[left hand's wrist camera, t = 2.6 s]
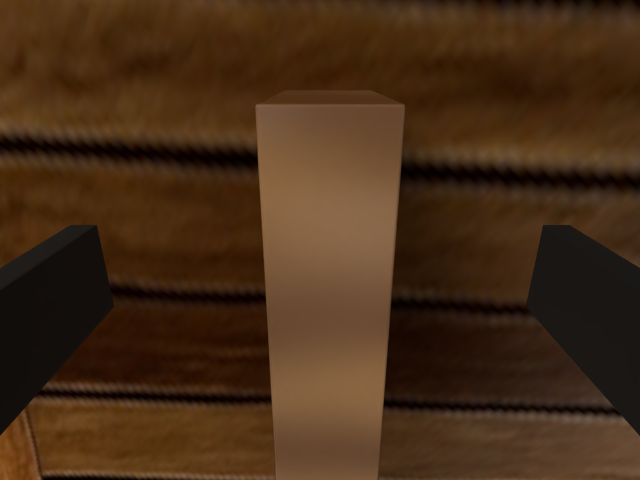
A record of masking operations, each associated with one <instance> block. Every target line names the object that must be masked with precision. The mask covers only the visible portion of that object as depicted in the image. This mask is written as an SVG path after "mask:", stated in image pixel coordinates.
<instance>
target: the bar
mask: <svg viewBox="0 0 640 480" xmlns="http://www.w3.org/2000/svg"><path fill="white" fill-rule="evenodd" d="M405 109H406V107H405V105H404V104H402V103H400V102H397V101H395V100H393V99H390V98H388V97H386V96H383V95H381V94H379V93H376V92H374V91H372V90H285V91H283V92H281V93H279V94H277V95H275V96H273V97H271V98H269V99H267V100H265V101H262V102H260V103H258V104H256V106H255V112H256V130H257V148H258V165H259V183H260V201H261V219H262V236H263V254H264V272H265V289H266V307H267V325H268V342H269V360H270V378H271V395H272V413H273V431H274V448H275V466H276V480H378V471H379V457H380V444H381V431H382V417H383V404H384V390H385V377H386V364H387V350H388V337H389V323H390V310H391V297H392V283H393V270H394V256H395V243H396V230H397V216H398V203H399V189H400V176H401V163H402V149H403V136H404V122H405Z"/></svg>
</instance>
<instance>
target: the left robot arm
mask: <svg viewBox="0 0 640 480" xmlns="http://www.w3.org/2000/svg"><path fill="white" fill-rule="evenodd" d="M113 307H114V304H113V299H112V295H111V290H110V285H109V281H108V276H107V271H106V267H105V262H104V257H103V253H102V248H101V243H100V239H99V234H98V229H97V225H70V226H68V227H67V228H65V229H64V230H62V231H60V232H59V233H57V234H55V235H54V236H52V237H50V238H49V239H47V240H46V241H44V242H42V243H41V244H39V245H37V246H36V247H34V248H32V249H31V250H29V251H27V252H26V253H24V254H23V255H21V256H19V257H18V258H16V259H14V260H13V261H11V262H9V263H8V264H6V265H5V266H3V267H1V268H0V435H1V434H2V433H3V432H4V431H5V430H6V429H7V427H8V426H9V425H10V424H11V423H12V422H13V421H14V420H15V418H16V417H17V416H18V415H19V414H20V413H21V412H22V410H23V409H24V408H25V407H26V406H27V405H28V404H29V403H30V401H31V400H32V399H33V398H34V397H35V396H36V395H37V393H38V392H39V391H40V390H41V389H42V388H43V387H44V386H45V384H46V383H47V382H48V381H49V380H50V379H51V378H52V376H53V375H54V374H55V373H56V372H57V371H58V370H59V369H60V367H61V366H62V365H63V364H64V363H65V362H66V361H67V359H68V358H69V357H70V356H71V355H72V354H73V353H74V351H75V350H76V349H77V348H78V347H79V346H80V345H81V344H82V342H83V341H84V340H85V339H86V338H87V337H88V336H89V334H90V333H91V332H92V331H93V330H94V329H95V328H96V327H97V325H98V324H99V323H100V322H101V321H102V320H103V319H104V317H105V316H106V315H107V314H108V313H109V312H110V311H111V310H112V308H113ZM526 307H527V308H528V310H529V311H530V312H531V313H532V314H533V315H534V316H535V317H536V319H537V320H538V321H539V322H540V323H541V324H542V325H543V327H544V328H545V329H546V330H547V331H548V332H549V333H550V334H551V336H552V337H553V338H554V339H555V340H556V341H557V342H558V344H559V345H560V346H561V347H562V348H563V349H564V350H565V351H566V353H567V354H568V355H569V356H570V357H571V358H572V359H573V361H574V362H575V363H576V364H577V365H578V366H579V367H580V369H581V370H582V371H583V372H584V373H585V374H586V375H587V376H588V378H589V379H590V380H591V381H592V382H593V383H594V384H595V386H596V387H597V388H598V389H599V390H600V391H601V392H602V393H603V395H604V396H605V397H606V398H607V399H608V400H609V401H610V403H611V404H612V405H613V406H614V407H615V408H616V409H617V410H618V412H619V413H620V414H621V415H622V416H623V417H624V418H625V420H626V421H627V422H628V423H629V424H630V425H631V426H632V427H633V429H634V430H635V431H636V432H637V433H638V434H639V435H640V268H639V267H637V266H635V265H634V264H632V263H631V262H629V261H627V260H626V259H624V258H622V257H621V256H619V255H617V254H616V253H614V252H613V251H611V250H609V249H608V248H606V247H604V246H603V245H601V244H599V243H598V242H596V241H594V240H593V239H591V238H590V237H588V236H586V235H585V234H583V233H581V232H580V231H578V230H576V229H575V228H573V227H572V226H570V225H543V229H542V234H541V239H540V243H539V248H538V253H537V257H536V262H535V267H534V271H533V276H532V281H531V285H530V290H529V295H528V299H527V304H526Z"/></svg>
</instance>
